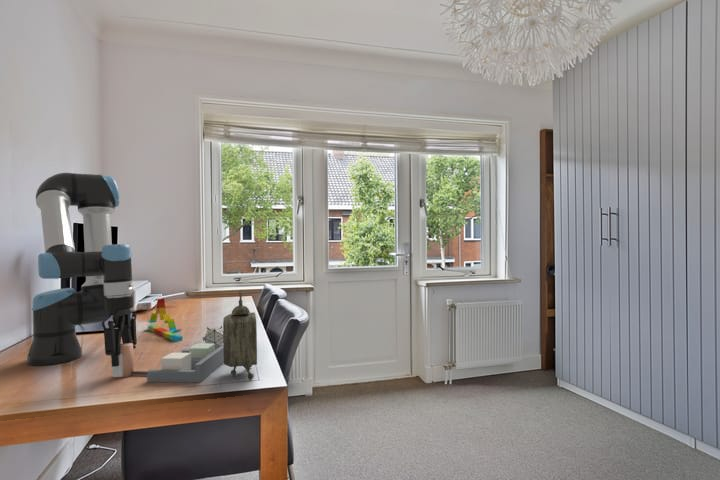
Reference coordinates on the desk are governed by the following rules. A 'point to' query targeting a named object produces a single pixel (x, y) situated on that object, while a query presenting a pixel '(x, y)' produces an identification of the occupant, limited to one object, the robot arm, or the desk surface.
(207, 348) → the sage block
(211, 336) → the grey spiky lattice polyhedron
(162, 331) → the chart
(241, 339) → the tabletop clock
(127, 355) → the corded block
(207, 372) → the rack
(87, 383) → the desk surface
